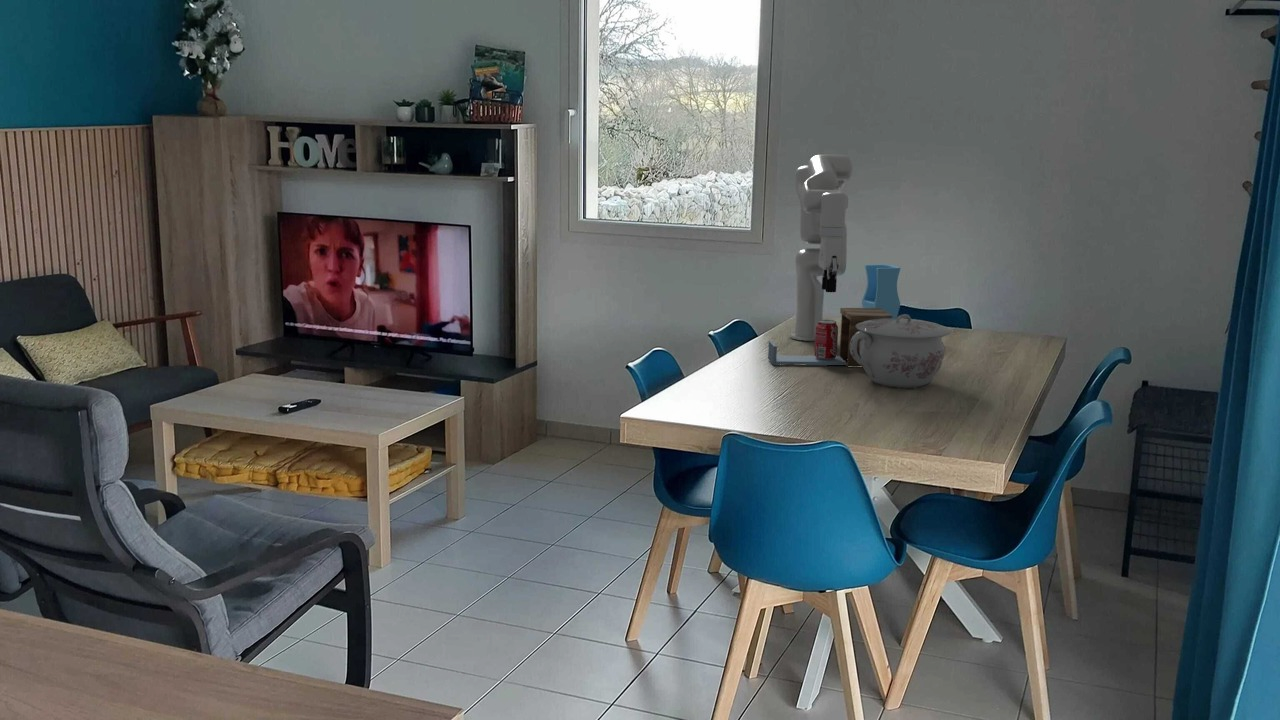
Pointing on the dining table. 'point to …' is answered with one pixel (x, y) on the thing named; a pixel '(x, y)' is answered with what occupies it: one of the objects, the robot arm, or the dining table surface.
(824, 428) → the dining table surface
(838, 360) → the blue-grey l-shaped bracket
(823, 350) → the soda can
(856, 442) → the dining table surface
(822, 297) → the robot arm
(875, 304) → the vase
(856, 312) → the open wooden box
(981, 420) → the dining table surface
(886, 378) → the chamber pot
